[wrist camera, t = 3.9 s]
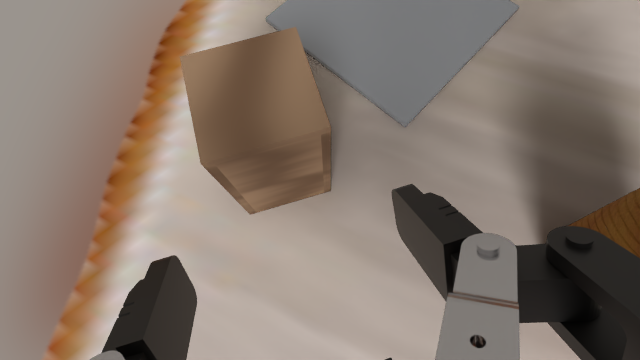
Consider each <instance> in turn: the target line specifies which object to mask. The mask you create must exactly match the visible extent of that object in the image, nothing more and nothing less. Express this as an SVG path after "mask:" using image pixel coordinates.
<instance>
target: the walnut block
mask: <svg viewBox="0 0 640 360" xmlns="http://www.w3.org/2000/svg"><path fill="white" fill-rule="evenodd" d="M180 60H181V65H182V70H183V75H184V80H185V85H186V91H187V96H188V101H189V106H190V111H191V116H192V121H193V126H194V132H195V137H196V142H197V147H198V152H199V157H200V162H201V164H202V165H203V166H204V168H205V169H206V170H207V171H208V172H209V173H210V174H211V175H212V176H213V177H214V178H215V179H216V180H217V181H218V182H219V183H220V184H221V185H222V186H223V187H224V188H225V189H226V190H227V191H228V192H229V193H230V194H231V195H232V196H233V197H234V198H235V200H236V201H237V202H238V203H239V204H240V205H241V206H242V207H243V208H244V209H245V210H246V211H247V212H248V213H249V214H254V213H257V212H260V211H264V210H267V209H271V208H274V207H277V206H281V205H284V204H287V203H291V202H294V201H298V200H301V199H304V198H308V197H311V196H315V195H318V194H321V193H325V192H328V191H331V126H330V123H329V120H328V117H327V114H326V111H325V108H324V106H323V103H322V100H321V97H320V94H319V91H318V88H317V86H316V83H315V80H314V77H313V74H312V71H311V68H310V66H309V63H308V60H307V57H306V54H305V51H304V48H303V45H302V43H301V40H300V37H299V34H298V31H297V28H296V27H293V28H289V29H285V30H281V31H278V32H274V33H270V34H266V35H262V36H258V37H254V38H251V39H247V40H243V41H239V42H235V43H231V44H227V45H223V46H220V47H216V48H212V49H208V50H204V51H200V52H196V53H193V54H189V55H185V56H181V57H180Z"/></svg>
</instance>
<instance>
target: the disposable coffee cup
mask: <svg viewBox="0 0 640 360" xmlns="http://www.w3.org/2000/svg"><path fill="white" fill-rule="evenodd" d="M568 226H578V227H584V228H588V229H592V230H595V231H597V232H599V233H601V234H603V235H605V236H606V237H608V238H609V239H611V240H612V241H614V242H615V243H617V244H619V245H620V246H622V247H623V248H625V249H626V250H628V251H629V252H631V253H633V254H634V255H636V256H637V257H639V258H640V188H639V189H637V190H635V191H633V192H631V193H629V194H627V195H625V196H623V197H622V198H620V199H618V200H616V201H614V202H612V203H610V204H608V205H606V206H604V207H602V208H600V209H599V210H597V211H595V212H593V213H591V214H589V215H587V216H585V217H584V218H582V219H580V220H578V221H576V222H574V223H572V224H570V225H568Z"/></svg>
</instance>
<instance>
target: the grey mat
mask: <svg viewBox="0 0 640 360" xmlns="http://www.w3.org/2000/svg"><path fill="white" fill-rule="evenodd" d="M519 7H520V6H518V5H516V4H515V3H513V2H511V1H510V0H287V1H286V2H285V3H283V4H282V5H281V6H280V7H278V8H277V9H276V10H275V11H273V12H272V13H271V14H270V15H269V16H267V17H266V22H268V23H269V24H270V25H272V26H273V27H274V28H275V29H277V30H278V31H281V30H285V29H289V28H293V27H296V28H297V31H298V34H299V37H300V40H301V43H302V45H303V48H304V51H306V52H307V53H308V54H309V55H311V56H312V57H313V58H315V59H316V60H317V61H319V62H320V63H321V64H323V65H324V66H325V67H326V68H328V69H329V70H330V71H332V72H333V73H334V74H336V75H337V76H338V77H340V78H341V79H342V80H344V81H345V82H346V83H347V84H349V85H350V86H351V87H353V88H354V89H355V90H357V91H358V92H359V93H361V94H362V95H363V96H364V97H366V98H367V99H368V100H370V101H371V102H372V103H374V104H375V105H376V106H378V107H379V108H380V109H381V110H383V111H384V112H385V113H387V114H388V115H389V116H391V117H392V118H393V119H395V120H396V121H397V122H398V123H400V124H401V125H402V126H404V127H406V126H407V125H408V124H409V123H410V122H411V121H412V120H413V119H414V118H415V117H416V116H417V114H418V113H419V112H420V111H421V110H422V109H423V108H424V107H425V106H426V105H427V104H428V103H429V102H430V101H431V100H432V99H433V98H434V97H435V96H436V95H437V94H438V93H439V91H440V90H441V89H442V88H443V87H444V86H445V85H446V84H447V83H448V82H449V81H450V80H451V79H452V78H453V77H454V76H455V75H456V74H457V73H458V72H459V71H460V70H461V68H462V67H463V66H464V65H465V64H466V63H467V62H468V61H469V60H470V59H471V58H472V57H473V56H474V55H475V54H476V53H477V52H478V51H479V50H480V49H481V48H482V46H483V45H484V44H485V43H486V42H487V41H488V40H489V39H490V38H491V37H492V36H493V35H494V34H495V33H496V32H497V31H498V30H499V29H500V28H501V27H502V26H503V25H504V23H505V22H506V21H507V20H508V19H509V18H510V17H511V16H512V15H513V14H514V13H515V12H516V11H517V10H518V8H519Z"/></svg>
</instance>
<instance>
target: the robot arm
mask: <svg viewBox="0 0 640 360" xmlns="http://www.w3.org/2000/svg"><path fill="white" fill-rule="evenodd" d="M392 199H393V206H394V212H395V219H396V225H397V229H398V232H399V235H400V237H401V239H402V240H403V242H404V243H405V245H406V246H407V248H408V249H409V250H410V252H411V253H412V255H413V256H414V257H415V259H416V260H417V262H418V263H419V264H420V266H421V267H422V269H423V270H424V271H425V273H426V274H427V276H428V277H429V278H430V280H431V281H432V283H433V284H434V285H435V287H436V288H437V290H438V291H439V292H440V294H441V295H442V297H443V298H444V299H445V301H446V306H445V311H444V317H443V322H442V327H441V332H440V337H439V342H438V347H437V353H436V358H435V360H520V343H519V323H535V322H547V323H548V324H549V325H550V326H551V327H552V328H553V329H554V330H555V332H556V333H557V334H558V335H559V336H560V337H561V338H562V339H563V340H564V341H565V342H566V344H567V345H568V346H569V347H570V348H571V349H572V350H573V351H574V352H575V353H576V355H577V356H578V357H579V358H580V359H581V360H640V258H639V257H637V256H636V255H634V254H633V253H631V252H629V251H628V250H626V249H625V248H623V247H622V246H620V245H619V244H617V243H615V242H614V241H612V240H611V239H609V238H608V237H606V236H605V235H603V234H601V233H599V232H597V231H595V230H592V229H588V228H584V227H578V226H564V227H559V228H556V229H554V230H552V231H551V232H549V234H548V236H547V244H536V245H521V246H516V245H514V244H513V243H512V242H511V241H510V240H509V239H507V238H505V237H503V236H500V235H497V234H491V233H483V232H482V231H480V230H479V229H478V228H477V227H476V226H475V225H474V224H472V223H471V222H470V221H469V220H468V219H467V218H466V217H465V216H463V215H462V214H461V213H460V212H458V210H457V209H456V208H454V207H453V206H451V204H450V203H449V202H448V201H446V200H445V199H444V198H443V197H441V196H438V195H436V194H433V193H426V194H423V193H422V192H421V191H420V190H419V189H417V188H416V187H415V186H414V185H413V184H410V185H406V186H403V187H400V188H396V189H393V190H392ZM123 306H124V307H123V308H122V309H121V311H120V313H119V318H117V320H116V322H115V324H114V326H113V329H112V331H111V333H110V335H109V337H108V340H107V342H106V344H105V346H104V348H103V350H102V353H101V354H99V355H97V356H95V357H93V358H91V359H90V360H186V358H187V352H188V347H189V342H190V337H191V332H192V327H193V321H194V316H195V311H196V306H197V296H196V292H195V289H194V286H193V284H192V283H191V281H190V279H189V277H188V275H187V273H186V271H185V269H184V268H183V266H182V264H181V262H180V260H179V259H178V257H177V256H175V255H173V256H170V257H166V258H163V259H160V260H156V261H153V262H152V263H151V264H150V266H149V269H148V271H147V274H146V276H145V278H144V279H143V280H140V281H139V282H138V283H137V284H136V285H135V286H134V288H133V289H132V290H131V291H130V292H129V294H128V296H127V298H126V300H125V302H124V305H123ZM385 360H392V358H388V359H385Z"/></svg>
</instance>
